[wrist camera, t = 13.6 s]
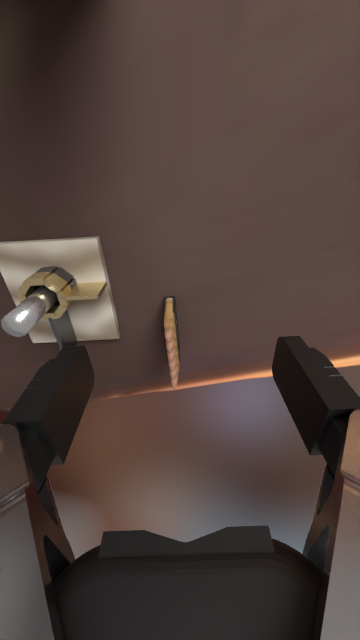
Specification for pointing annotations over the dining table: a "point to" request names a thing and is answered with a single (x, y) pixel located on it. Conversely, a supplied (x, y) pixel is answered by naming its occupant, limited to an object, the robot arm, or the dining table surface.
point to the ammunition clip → (172, 338)
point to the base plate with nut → (63, 287)
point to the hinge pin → (29, 312)
